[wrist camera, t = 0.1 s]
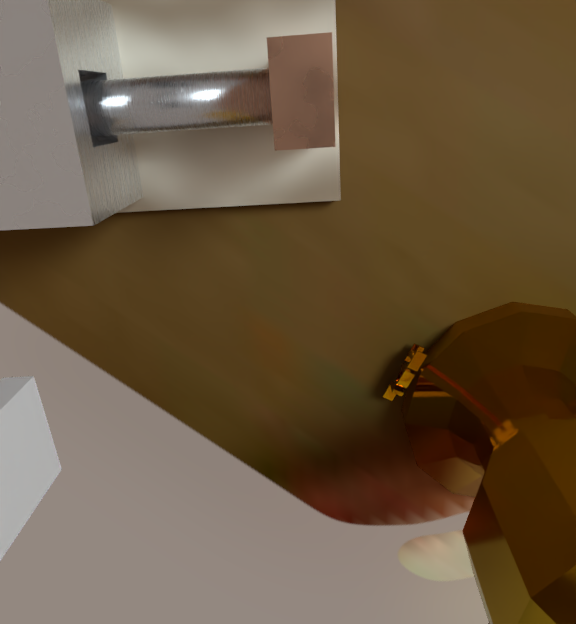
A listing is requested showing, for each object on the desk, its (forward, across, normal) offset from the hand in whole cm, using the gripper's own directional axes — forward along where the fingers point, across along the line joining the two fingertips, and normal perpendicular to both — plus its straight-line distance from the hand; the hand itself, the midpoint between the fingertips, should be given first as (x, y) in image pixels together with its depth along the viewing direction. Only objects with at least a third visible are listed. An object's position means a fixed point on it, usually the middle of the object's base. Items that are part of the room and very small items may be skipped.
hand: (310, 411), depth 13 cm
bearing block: (+27, -16, +7) cm, 32 cm away
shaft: (+27, -7, +7) cm, 28 cm away
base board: (+28, -9, +7) cm, 30 cm away
